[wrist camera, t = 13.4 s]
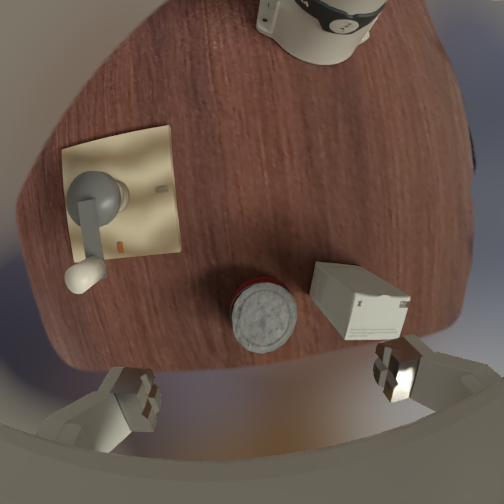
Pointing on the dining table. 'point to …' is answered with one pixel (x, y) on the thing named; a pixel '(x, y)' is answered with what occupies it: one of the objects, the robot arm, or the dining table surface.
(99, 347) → the dining table surface
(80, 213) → the white knob lever
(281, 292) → the canned food
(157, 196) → the mount board
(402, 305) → the skincare box
